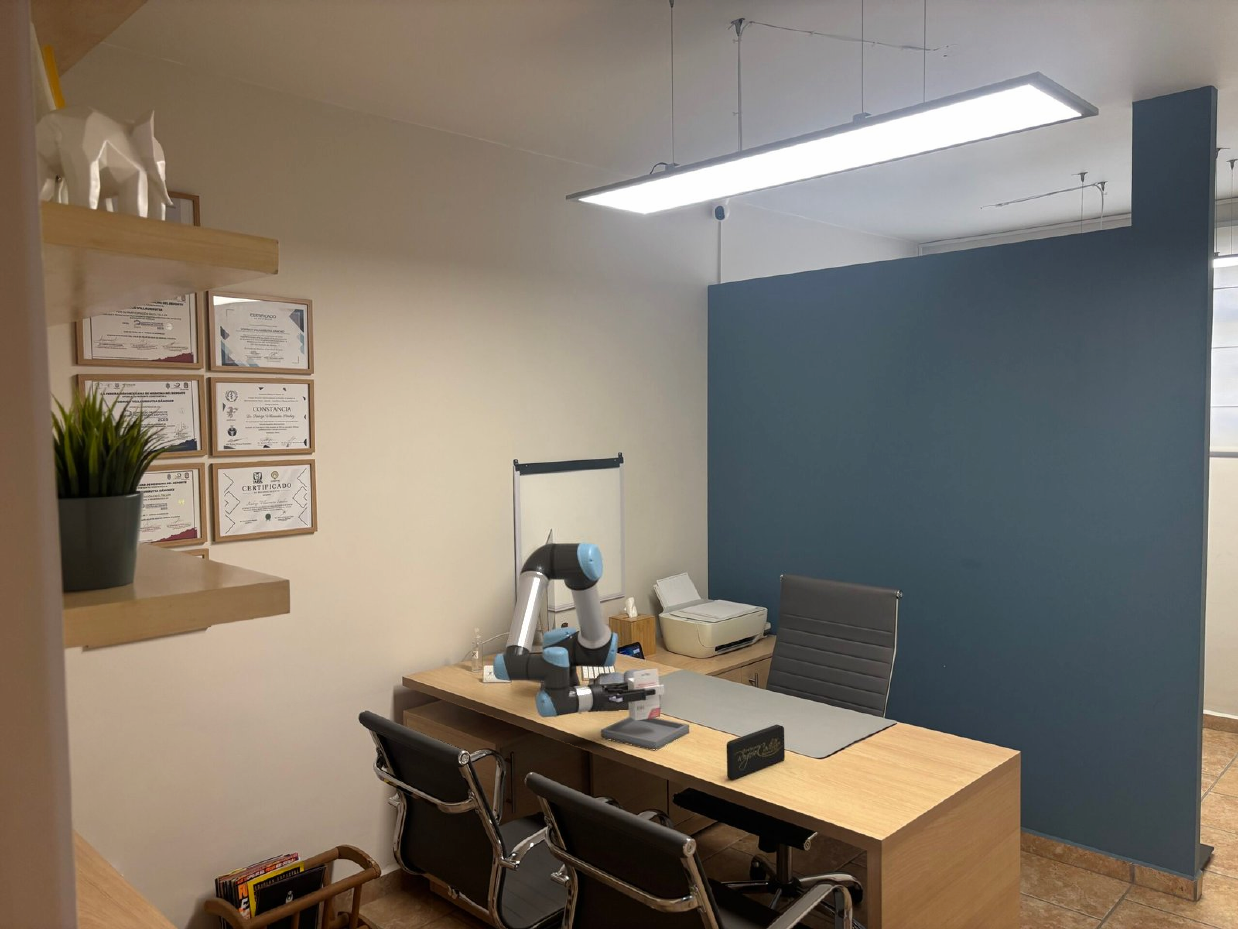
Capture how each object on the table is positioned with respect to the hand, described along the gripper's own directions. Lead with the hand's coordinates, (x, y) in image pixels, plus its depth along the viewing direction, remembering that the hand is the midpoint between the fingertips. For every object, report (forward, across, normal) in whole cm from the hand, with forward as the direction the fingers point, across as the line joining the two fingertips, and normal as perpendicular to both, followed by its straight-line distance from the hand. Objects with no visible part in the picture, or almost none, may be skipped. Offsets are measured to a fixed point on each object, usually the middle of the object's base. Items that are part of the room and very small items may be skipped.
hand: (659, 687), depth 271 cm
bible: (+3, -34, -14) cm, 37 cm away
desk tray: (-5, 0, -14) cm, 15 cm away
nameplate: (+10, +38, -15) cm, 42 cm away
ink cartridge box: (-5, 0, -8) cm, 10 cm away
